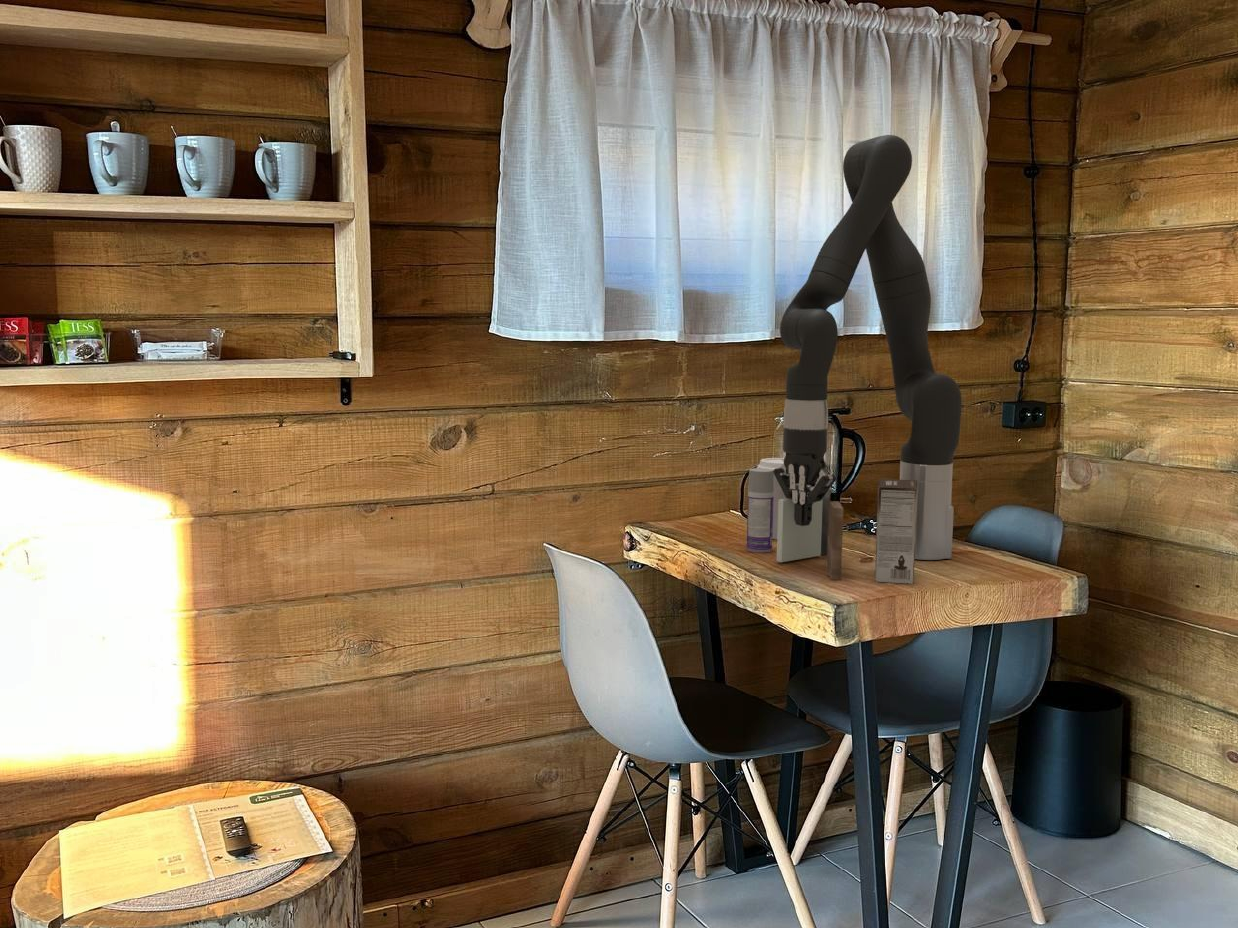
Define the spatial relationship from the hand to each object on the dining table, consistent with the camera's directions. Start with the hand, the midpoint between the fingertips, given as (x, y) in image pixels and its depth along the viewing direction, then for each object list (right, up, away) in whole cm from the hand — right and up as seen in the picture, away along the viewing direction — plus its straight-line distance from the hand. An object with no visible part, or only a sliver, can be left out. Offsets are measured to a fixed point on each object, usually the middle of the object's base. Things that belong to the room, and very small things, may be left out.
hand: (802, 524), depth 208 cm
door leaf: (0, -6, +5) cm, 8 cm away
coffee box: (+14, -9, -7) cm, 18 cm away
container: (-6, -6, +14) cm, 16 cm away
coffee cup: (-1, -4, +27) cm, 27 cm away
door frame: (+5, -7, +2) cm, 9 cm away
